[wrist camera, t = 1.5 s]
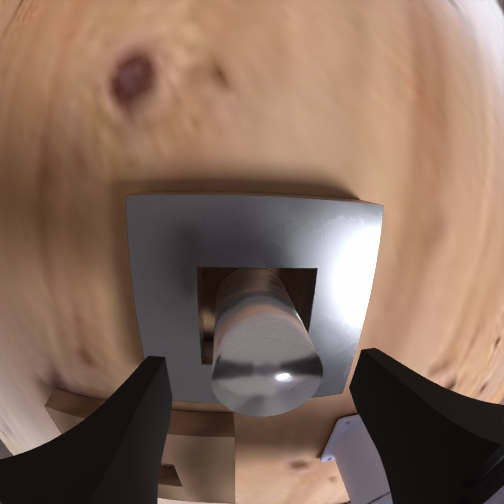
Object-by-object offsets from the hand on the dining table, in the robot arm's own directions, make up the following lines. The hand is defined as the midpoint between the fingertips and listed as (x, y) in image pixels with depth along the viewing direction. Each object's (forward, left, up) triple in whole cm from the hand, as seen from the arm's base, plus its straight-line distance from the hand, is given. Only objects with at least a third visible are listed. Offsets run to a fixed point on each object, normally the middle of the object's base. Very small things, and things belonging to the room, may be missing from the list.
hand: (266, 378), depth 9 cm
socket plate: (+9, +18, -7) cm, 21 cm away
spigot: (0, 0, -7) cm, 7 cm away
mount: (0, 0, -7) cm, 7 cm away
